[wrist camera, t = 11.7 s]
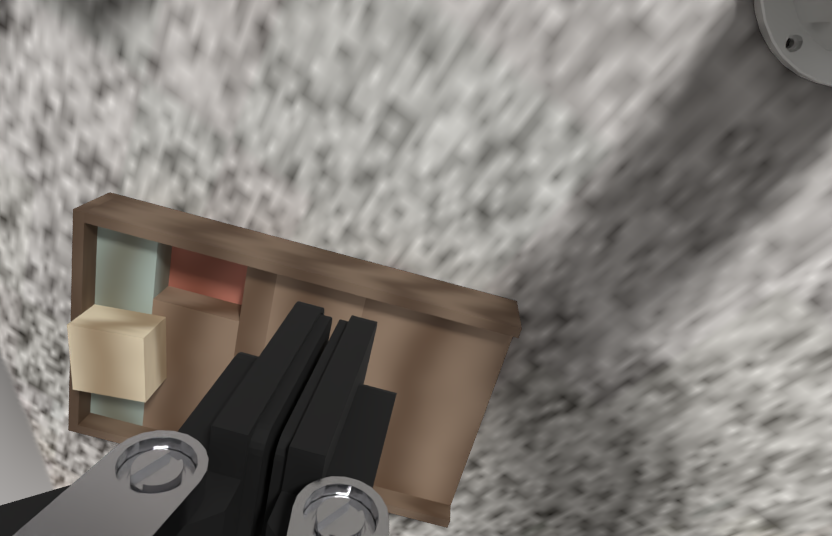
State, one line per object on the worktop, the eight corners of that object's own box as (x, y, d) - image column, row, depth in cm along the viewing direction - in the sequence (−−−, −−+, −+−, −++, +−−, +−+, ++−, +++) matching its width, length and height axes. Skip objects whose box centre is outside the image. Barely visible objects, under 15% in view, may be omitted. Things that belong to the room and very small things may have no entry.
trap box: (516, 301, 40) (521, 328, 36) (448, 488, 47) (447, 527, 43) (109, 192, 39) (73, 209, 36) (100, 398, 46) (68, 430, 42)
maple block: (165, 316, 40) (143, 338, 37) (166, 377, 42) (145, 402, 39) (94, 304, 40) (67, 324, 37) (98, 365, 42) (72, 389, 39)
